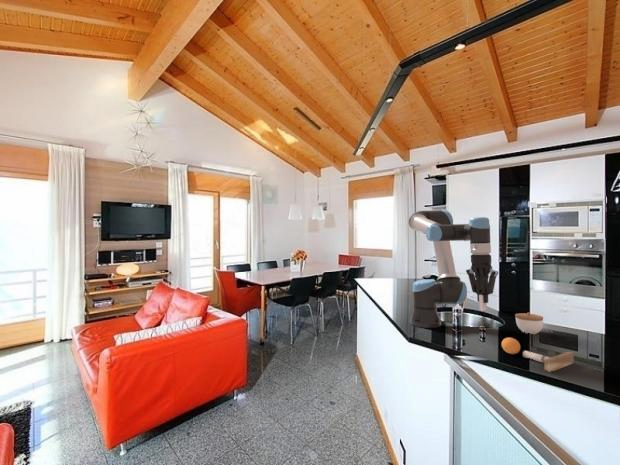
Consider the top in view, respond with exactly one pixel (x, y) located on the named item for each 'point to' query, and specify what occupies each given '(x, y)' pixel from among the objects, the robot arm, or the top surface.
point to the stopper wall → (558, 361)
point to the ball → (511, 345)
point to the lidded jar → (529, 322)
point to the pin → (534, 356)
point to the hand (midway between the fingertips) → (483, 310)
